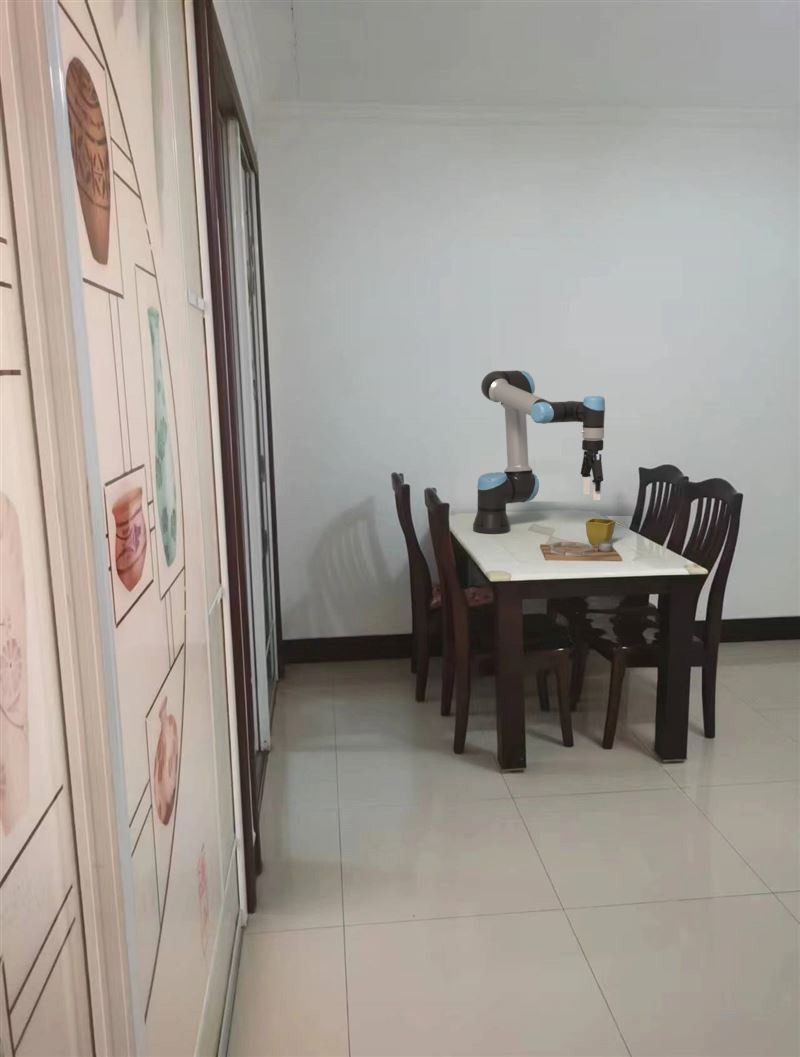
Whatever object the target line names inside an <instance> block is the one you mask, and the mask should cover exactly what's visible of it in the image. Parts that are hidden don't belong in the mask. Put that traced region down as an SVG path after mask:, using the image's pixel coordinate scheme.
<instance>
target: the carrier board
mask: <svg viewBox="0 0 800 1057" xmlns="http://www.w3.org/2000/svg"><path fill="white" fill-rule="evenodd" d="M613 546H614V545H613V542H611V541H609V542H607V541H601V542H598V545H596V544H591V543H590V544H588V543H585V542H579V541H558V542H553V543H548V544H547V543H543V544H542V543H541V544H540V545H539V548H540V550H541V553H542V554H543V557H544V560H545V561H577V562H578V561H581V562H582V561H585V562H586V561H591V562H592V561H594V562H602V561H603V562H622V561H623V560H622V559H623V557H622V556H621V555H620V554H619V552H618V551H617V550H616V549H615V548H614V547H613Z"/></svg>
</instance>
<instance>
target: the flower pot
mask: <svg viewBox="0 0 800 1057" xmlns="http://www.w3.org/2000/svg"><path fill="white" fill-rule="evenodd" d="M615 525H616V520H614V519H605V518H597V517H596V518H595V517H593V518H591V519H588V520H586V521H585V528H586V529H585V530H586V531H585V533H586V537H587V539H588V542H589V543H590V545H598V542H601V541H607V542H611V541H610V540H611V539H612V538H613V534H614V531H615Z"/></svg>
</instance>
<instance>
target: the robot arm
mask: <svg viewBox="0 0 800 1057" xmlns="http://www.w3.org/2000/svg"><path fill="white" fill-rule="evenodd" d="M535 387H536V386H535V381H534V379H533V377H532V375H530V373H529V372H527V371H525V370H494V371H491V372H489V373H488V374H486V375H485V376H484V378H483V379H482V381H481V386H480V388H481V393H482V394H483V396H484V397H485V398H486V399H487V400H489V401H490V402H491V401H492V402H494V403H500V406H502V407H503V408H504V419H505V438H506V439H505V441H506V457H507V458H506V459H507V460H506V462H507V467H506V468H505V469H504V472H501V471H499V472H497V471H496V472H488V473H484V474H482V475H480V476H479V477H478V479H477V486H476V487H477V512H476V515H475V518H474V521H473V524H472V531H473V532H475V533H480V534H492V535H493V534H494V535H495V534H504V533H505V534H506V533H508V532H510V530H511V525H510V521H509V517H508V514H507V504H516V503H526V502H529V501H533V500H534V499H535V498H536V496H537V495H538V492H539V488H540V483H539V482H540V481H539V478H538V476H537V475H536V474H535V473H533V468H531V466H530V465H529V450H528V449H529V447H528V446H529V445H528V426H527V424H528V422H527V415H528V416H530V417H531V419H532V421H533V422H534V423H536V424H544V425H545V424H557V423H558V424H559V423H574V422H576V423H582V430H581V431H580V432H581V434H582V441H581V442H582V445H581V450H582V451H583V457H582V464H581V470H580V475H581V477H582V479H581V481H582V483H581V485H582V486H581V495H590V494H591V490H590V489H591V482H592V498H591V500H592V501H600V500H601V492H602V491H601V490H602V488H601V487H602V482H603V481H604V474H603V465H602V454H600V453H599V451H603V450H604V438H605V412H606V401H605V397H604V396H601V395H600V396H599V395H598V396H594V395H593V396H584V397H583V401H578V400H577V401H576V400H567V401H549V400H547V399H544V398H542V397H540V396H537V395H535V390H536V389H535ZM591 473H592V474H591ZM591 477H593V479H592V481H591Z"/></svg>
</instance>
